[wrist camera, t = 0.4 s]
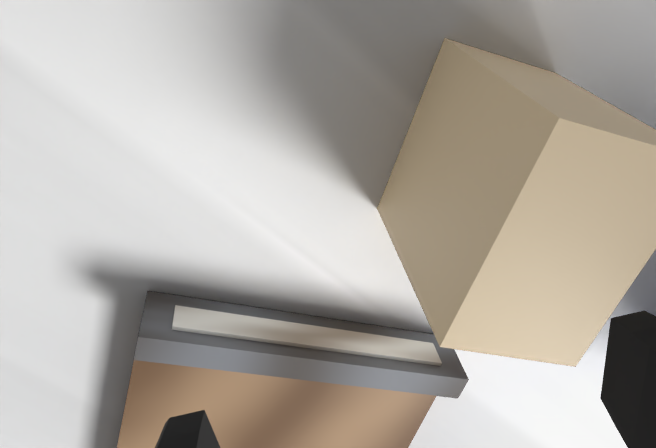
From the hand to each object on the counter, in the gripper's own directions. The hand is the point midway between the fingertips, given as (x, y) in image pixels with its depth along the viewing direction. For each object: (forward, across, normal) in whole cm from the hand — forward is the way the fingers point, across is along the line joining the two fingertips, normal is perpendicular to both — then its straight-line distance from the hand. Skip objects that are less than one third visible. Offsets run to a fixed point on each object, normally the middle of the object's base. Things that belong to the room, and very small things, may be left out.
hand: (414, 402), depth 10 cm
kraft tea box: (+10, -4, 0) cm, 11 cm away
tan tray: (+10, +5, +12) cm, 17 cm away
